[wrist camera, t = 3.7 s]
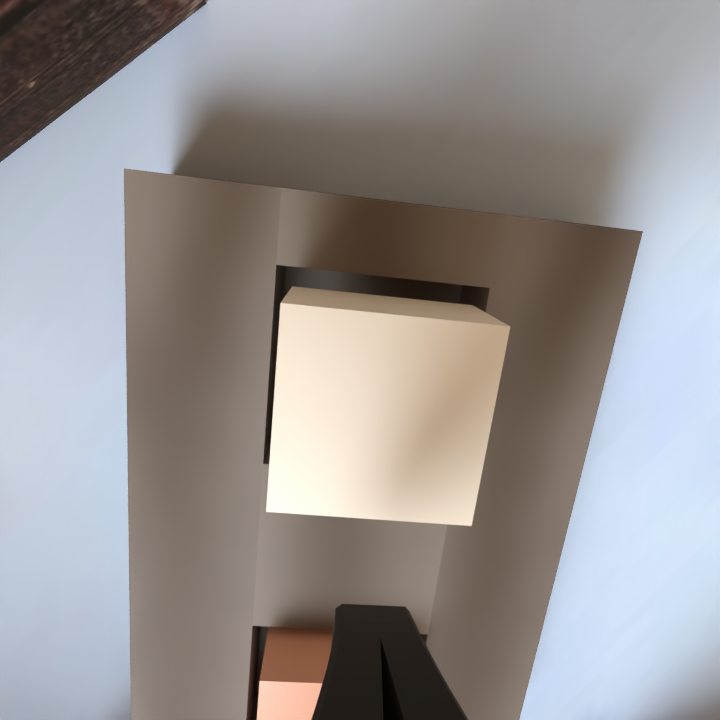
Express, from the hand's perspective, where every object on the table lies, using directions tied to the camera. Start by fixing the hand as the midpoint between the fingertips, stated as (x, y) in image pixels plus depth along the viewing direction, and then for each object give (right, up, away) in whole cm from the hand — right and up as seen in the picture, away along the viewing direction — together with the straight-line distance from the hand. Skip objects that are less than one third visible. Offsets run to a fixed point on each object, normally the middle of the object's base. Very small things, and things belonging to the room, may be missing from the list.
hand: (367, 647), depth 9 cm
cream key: (0, +5, +5) cm, 7 cm away
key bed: (-1, 0, +10) cm, 10 cm away
